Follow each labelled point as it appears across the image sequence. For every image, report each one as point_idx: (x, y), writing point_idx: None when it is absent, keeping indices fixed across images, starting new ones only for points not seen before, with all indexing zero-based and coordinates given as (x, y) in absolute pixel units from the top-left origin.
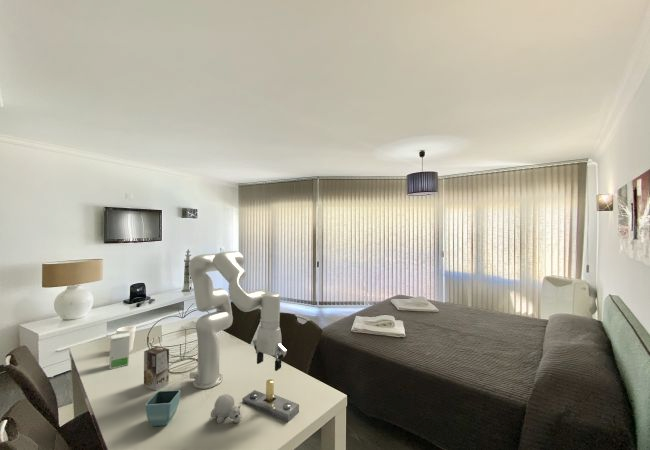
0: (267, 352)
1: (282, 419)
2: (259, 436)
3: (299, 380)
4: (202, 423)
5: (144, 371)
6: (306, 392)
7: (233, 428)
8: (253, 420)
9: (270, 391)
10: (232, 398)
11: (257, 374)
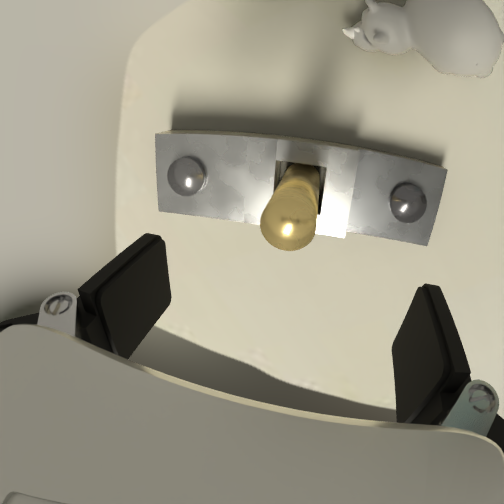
0: (95, 394)
1: (196, 130)
2: (218, 18)
3: (285, 358)
4: None
5: None
6: (219, 307)
7: (350, 4)
8: (307, 70)
9: (277, 188)
10: (437, 36)
11: None
